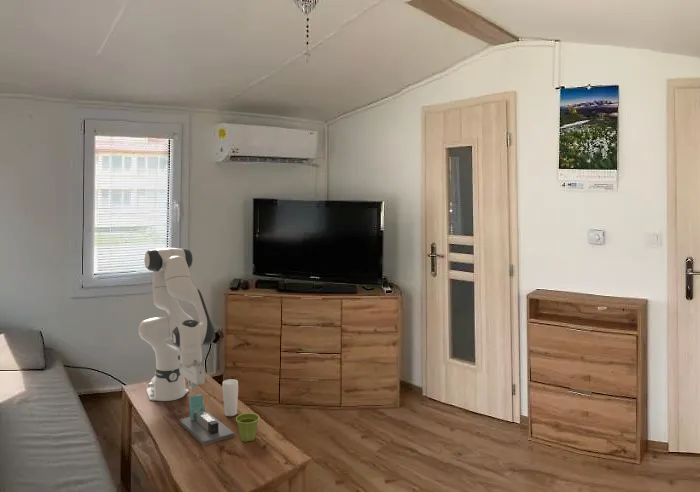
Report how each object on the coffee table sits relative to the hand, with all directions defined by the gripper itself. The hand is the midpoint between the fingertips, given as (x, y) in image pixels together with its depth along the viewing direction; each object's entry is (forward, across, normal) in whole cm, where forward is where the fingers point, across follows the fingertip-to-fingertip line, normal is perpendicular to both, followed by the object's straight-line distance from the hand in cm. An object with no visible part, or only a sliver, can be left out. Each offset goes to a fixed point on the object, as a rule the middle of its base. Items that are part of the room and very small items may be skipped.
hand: (192, 389), depth 235 cm
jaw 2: (+12, -15, -1) cm, 19 cm away
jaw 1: (+12, -15, +1) cm, 19 cm away
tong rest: (+13, -14, 0) cm, 20 cm away
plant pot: (+14, -32, -10) cm, 36 cm away
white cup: (+13, -6, -15) cm, 21 cm away
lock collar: (+11, -5, 0) cm, 12 cm away
